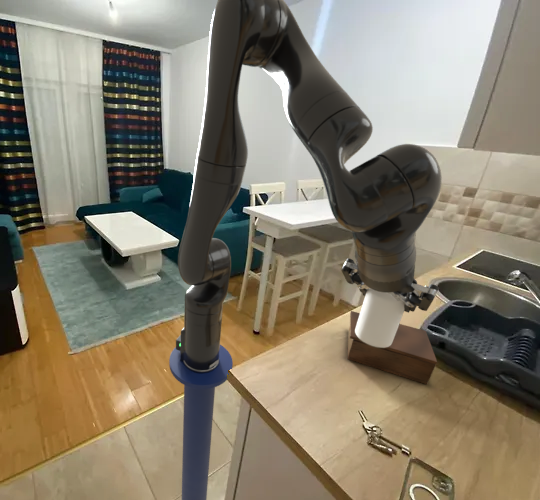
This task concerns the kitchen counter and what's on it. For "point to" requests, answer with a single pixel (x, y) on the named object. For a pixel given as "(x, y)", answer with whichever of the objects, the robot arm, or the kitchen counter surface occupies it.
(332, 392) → the kitchen counter surface
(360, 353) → the tray box
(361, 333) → the can
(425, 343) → the tray cover
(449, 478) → the kitchen counter surface
